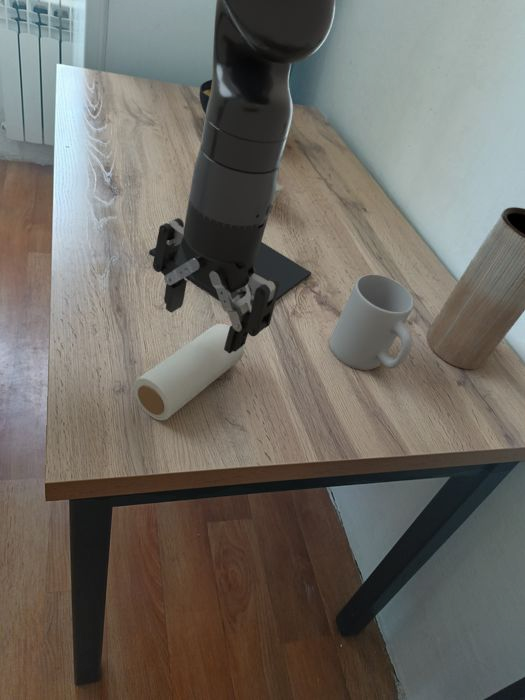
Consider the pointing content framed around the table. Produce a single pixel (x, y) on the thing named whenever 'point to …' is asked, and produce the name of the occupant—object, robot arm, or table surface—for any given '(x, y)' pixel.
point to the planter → (484, 296)
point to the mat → (263, 270)
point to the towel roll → (185, 373)
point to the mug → (373, 324)
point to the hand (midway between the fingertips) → (202, 328)
